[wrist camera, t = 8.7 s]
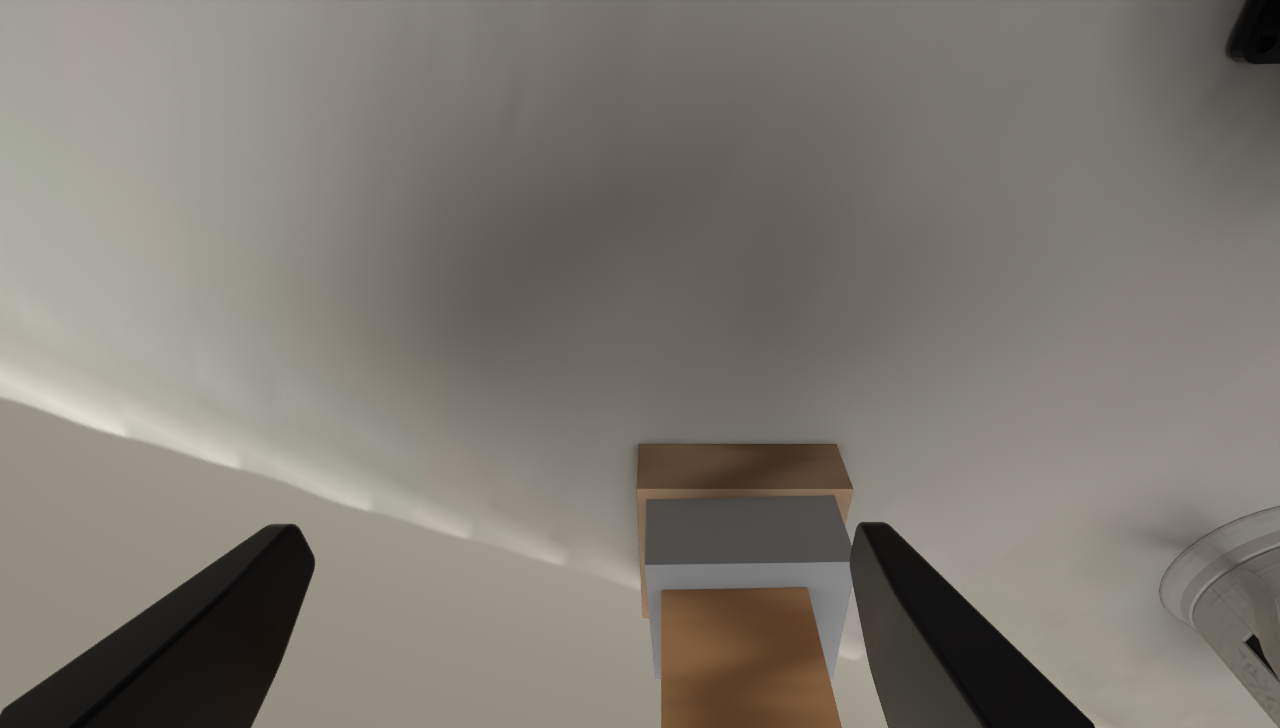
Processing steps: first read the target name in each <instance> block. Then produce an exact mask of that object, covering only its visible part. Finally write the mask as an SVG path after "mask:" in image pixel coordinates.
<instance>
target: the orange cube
mask: <svg viewBox="0 0 1280 728" xmlns="http://www.w3.org/2000/svg"><path fill="white" fill-rule="evenodd" d="M661 690H662V691H661V695H662V696H661V697H662V698H661V714H662V715H661V728H842V727H841V723H840V720H839V715H838V711H837V707H836V703H835V698H834V694H833V691H832V686H831V682H830V678H829V674H828V670H827V666H826V661H825V657H824V653H823V649H822V645H821V641H820V637H819V633H818V629H817V624H816V620H815V616H814V612H813V608H812V604H811V600H810V596H809V592H808V587H800V588H750V589H701V590H661Z"/></svg>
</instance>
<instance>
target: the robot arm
mask: <svg viewBox="0 0 1280 728" xmlns="http://www.w3.org/2000/svg"><path fill="white" fill-rule="evenodd" d="M1263 34H1264V37H1263V41H1262V43H1261V44H1260V45H1259V47H1257V48H1256V49H1255V50H1254V45H1255V42H1256V41H1257V39H1258V38H1259V37H1260V36H1261V35H1263ZM1230 51H1231V57H1232V58H1233V59H1234V60H1235V61H1237V62H1242V63H1250V64H1280V0H1252V1H1251V3H1250V5H1249V8H1248V10H1247V12H1246V14H1245V16H1244V18H1243V21H1242V23H1241V25H1240V27H1239V29H1238V31H1237V34H1236V36H1235V38H1234V40H1233V42H1232V46H1231V49H1230ZM314 567H315V559H314V555H313V553H312V551H311V549H310V547H309V545H308V543H307V541H306V539H305V537H304V536H303V534H302V532H301V530H300V528H299V527H298V526H296V525H294V524H271V525H268V526H266V527H264V528H262V529H261V530H259V531H258V532H257V533H255V534H254V535H252V536H251V537H249V538H248V539H247V540H245V541H244V542H242V543H241V544H239V545H238V546H236V547H235V548H234V549H232V550H231V551H229V552H228V553H227V554H225V555H224V556H222V557H221V558H219V559H218V560H217V561H215V562H213V563H212V564H211V565H209V566H208V567H206V568H205V569H203V570H202V571H201V572H199V573H198V574H196V575H195V576H193V577H192V578H190V579H189V580H188V581H186V582H185V583H183V584H182V585H180V586H179V587H177V588H176V589H175V590H173V591H172V592H170V593H169V594H167V595H166V596H165V597H163V598H162V599H160V600H159V601H157V602H156V603H155V604H153V605H152V606H150V607H149V608H147V609H146V610H144V611H143V612H142V613H140V614H139V615H137V616H136V617H134V618H133V619H132V620H130V621H129V622H127V623H126V624H124V625H123V626H121V627H120V628H118V629H117V630H116V631H114V632H113V633H111V634H110V635H108V636H107V637H106V638H104V639H103V640H101V641H100V642H98V643H97V644H95V645H94V646H93V647H91V648H90V649H88V650H87V651H85V652H84V653H82V654H81V655H80V656H78V657H77V658H75V659H74V660H72V661H71V662H70V663H68V664H67V665H66V666H64V667H62V668H61V669H59V670H58V671H57V672H55V673H54V674H52V675H51V676H49V677H48V678H47V679H45V680H44V681H42V682H41V683H40V684H38V685H36V686H35V687H34V688H32V689H31V690H30V691H28V692H26V693H25V694H23V695H22V696H21V697H19V698H18V699H16V700H15V701H13V702H12V703H11V704H9V705H8V706H6V707H5V708H4V709H3V710H2V711H1V713H0V728H251V727H252V725H253V723H254V720H255V718H256V716H257V714H258V712H259V710H260V708H261V705H262V703H263V701H264V699H265V697H266V695H267V693H268V690H269V688H270V686H271V684H272V682H273V680H274V678H275V675H276V673H277V671H278V668H279V666H280V664H281V661H282V659H283V656H284V654H285V651H286V649H287V646H288V643H289V640H290V637H291V634H292V632H293V628H294V626H295V623H296V620H297V617H298V615H299V612H300V609H301V606H302V603H303V601H304V598H305V595H306V592H307V589H308V586H309V583H310V580H311V578H312V575H313V572H314ZM850 572H851V577H852V582H853V587H854V592H855V597H856V602H857V607H858V612H859V617H860V622H861V627H862V632H863V637H864V642H865V647H866V652H867V656H868V661H869V665H870V669H871V673H872V677H873V680H874V684H875V687H876V690H877V693H878V696H879V700H880V703H881V706H882V709H883V712H884V715H885V718H886V722H887V725H888V728H1095V726H1094V724H1093V723H1092V722H1091V721H1090V720H1089V719H1088V718H1087V717H1086V716H1085V715H1084V714H1083V713H1082V712H1081V711H1080V710H1079V709H1078V708H1077V707H1076V706H1075V705H1074V704H1073V703H1072V702H1071V701H1070V700H1069V699H1068V698H1067V697H1066V696H1065V695H1064V694H1063V693H1062V692H1061V691H1060V690H1059V689H1058V688H1057V687H1055V686H1054V685H1053V684H1052V683H1051V682H1050V681H1049V680H1048V679H1047V678H1046V677H1045V676H1044V675H1043V674H1042V673H1041V672H1040V671H1039V670H1038V669H1037V668H1036V667H1035V666H1034V665H1033V664H1032V663H1031V662H1030V661H1029V660H1028V659H1027V658H1026V657H1025V656H1024V655H1023V654H1022V653H1021V652H1019V651H1018V650H1017V649H1016V648H1015V647H1014V646H1013V645H1012V644H1011V643H1010V642H1009V641H1008V640H1007V639H1006V638H1005V637H1004V636H1003V635H1002V634H1001V633H1000V632H999V631H998V630H997V629H996V628H995V627H994V626H993V625H992V624H991V623H990V622H989V621H988V620H987V619H986V618H985V617H984V616H982V615H981V614H980V613H979V612H978V611H977V610H976V609H975V608H974V607H973V606H972V605H971V604H970V603H969V602H968V601H967V600H966V599H965V598H964V597H963V596H962V595H961V594H960V593H959V592H958V591H957V590H956V589H955V588H954V587H953V586H952V585H951V584H950V583H949V582H948V581H946V580H945V579H944V578H943V577H942V576H941V575H940V574H939V573H938V572H937V571H936V570H935V569H934V568H933V567H932V566H931V565H930V564H929V563H928V562H927V561H926V560H925V559H924V558H923V557H922V556H921V555H920V554H919V553H918V552H917V551H916V550H915V549H914V548H913V547H912V546H911V545H909V544H908V543H907V542H906V541H905V540H904V539H903V538H902V537H901V536H900V535H899V534H898V533H897V532H896V531H895V530H894V529H893V528H892V527H891V526H890V525H888V524H887V523H884V522H861V523H859V524H858V526H857V528H856V532H855V537H854V541H853V545H852V550H851V554H850Z"/></svg>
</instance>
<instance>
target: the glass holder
mask: <svg viewBox="0 0 1280 728" xmlns="http://www.w3.org/2000/svg"><path fill="white" fill-rule="evenodd" d="M1160 599H1161V601H1162V603H1163V605H1164V607H1165V608H1166V609H1167V610H1168V611H1169V612H1170V613H1171V614H1172V615H1173V616H1174V617H1176V618H1178V619H1179V620H1181V621H1183V622H1184V623H1186V624H1188V625H1190V626H1192V627H1193V628H1194V629H1195V630H1196V631H1197V632H1198V633H1199V634H1201V635H1202V637H1203V638H1204V639H1205V640H1206V641H1207V643H1208V644H1209V645H1210V646H1211V647H1212V649H1213V650H1214V651H1215V652H1216V653H1217V655H1218V656H1219V657H1220V658H1221V659H1222V661H1223V662H1224V663H1225V664H1226V665H1227V667H1228V668H1229V669H1230V670H1231V671H1232V673H1233V674H1234V675H1235V676H1236V677H1237V679H1238V680H1239V681H1240V682H1241V683H1242V685H1243V686H1244V687H1245V688H1246V689H1247V690H1248V692H1249V693H1250V694H1251V695H1252V696H1253V698H1254V699H1255V700H1256V701H1257V702H1258V704H1259V705H1260V706H1261V707H1262V708H1263V710H1264V711H1265V712H1266V713H1267V714H1268V716H1269V717H1270V718H1271V719H1272V720H1273V722H1274V723H1275V724H1276V725H1277V726H1278V728H1280V506H1279V507H1276V508H1272V509H1268V510H1264V511H1260V512H1257V513H1255V514H1252V515H1249V516H1246V517H1243V518H1241V519H1238V520H1236V521H1234V522H1231V523H1229V524H1227V525H1225V526H1223V527H1220V528H1219V529H1217V530H1215V531H1213V532H1212V533H1210V534H1208V535H1206V536H1205V537H1203V538H1201V539H1200V540H1199V541H1197V542H1196V543H1194V544H1193V545H1192V546H1190V547H1189V548H1188V549H1186V550H1185V551H1184V552H1183V553H1182V554H1181V555H1180V556H1179V557H1178V558H1177V559H1176V560H1175V561H1174V562H1173V563H1172V565H1171V566H1170V567H1169V568H1168V570H1167V571H1166V573H1165V575H1164V577H1163V579H1162V581H1161V586H1160Z"/></svg>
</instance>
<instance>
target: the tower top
mask: <svg viewBox="0 0 1280 728" xmlns="http://www.w3.org/2000/svg"><path fill="white" fill-rule="evenodd" d="M851 550H852V546H851V543H850V540H849V537H848V534H847V531H846V528H845V525H844V522H843V519H842V516H841V513H840V510H839V507H838V505H837V502H836V499H835V496H834V495H819V496H775V497H732V498H689V499H647V504H646V536H645V575H646V586H647V597H648V608H649V619H650V629H651V640H652V650H653V662H654V673H655V679H661V590H701V589H750V588H800V587H808V592H809V596H810V600H811V604H812V608H813V612H814V616H815V620H816V624H817V629H818V633H819V637H820V641H821V645H822V649H823V653H824V657H825V661H826V666H827V670H828V674H829V678H830V679H832V678H833V674H834V669H835V665H836V660H837V655H838V650H839V646H840V641H841V636H842V631H843V627H844V622H845V617H846V612H847V607H848V603H849V598H850V593H851V588H852V583H853V582H852V577H851V572H850V554H851Z"/></svg>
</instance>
